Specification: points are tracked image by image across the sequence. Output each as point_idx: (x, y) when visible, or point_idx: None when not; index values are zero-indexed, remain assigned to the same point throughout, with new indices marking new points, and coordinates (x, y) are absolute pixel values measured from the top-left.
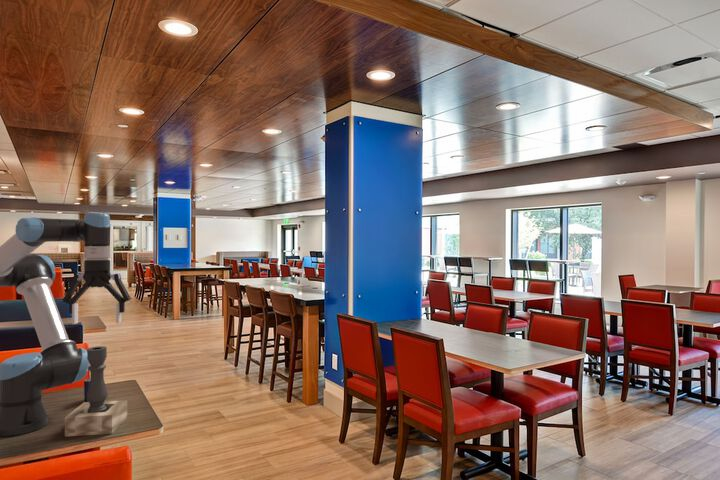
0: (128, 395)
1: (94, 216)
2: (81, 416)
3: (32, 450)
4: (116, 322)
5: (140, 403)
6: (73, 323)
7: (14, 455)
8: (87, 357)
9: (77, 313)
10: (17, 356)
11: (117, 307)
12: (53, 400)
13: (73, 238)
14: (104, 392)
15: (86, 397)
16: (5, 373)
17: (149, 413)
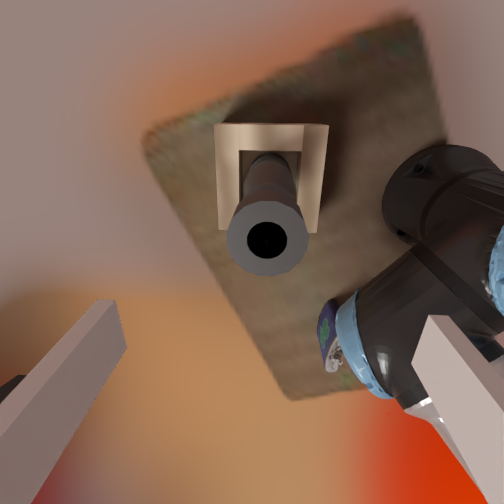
0: (266, 333)
1: None
2: (288, 125)
3: (368, 43)
4: (111, 302)
5: (226, 288)
6: (440, 319)
7: (401, 15)
8: (298, 206)
9: (458, 426)
10: None
11: (3, 418)
12: None
13: None
14: (245, 181)
15: (335, 308)
16: None
17: (187, 230)
